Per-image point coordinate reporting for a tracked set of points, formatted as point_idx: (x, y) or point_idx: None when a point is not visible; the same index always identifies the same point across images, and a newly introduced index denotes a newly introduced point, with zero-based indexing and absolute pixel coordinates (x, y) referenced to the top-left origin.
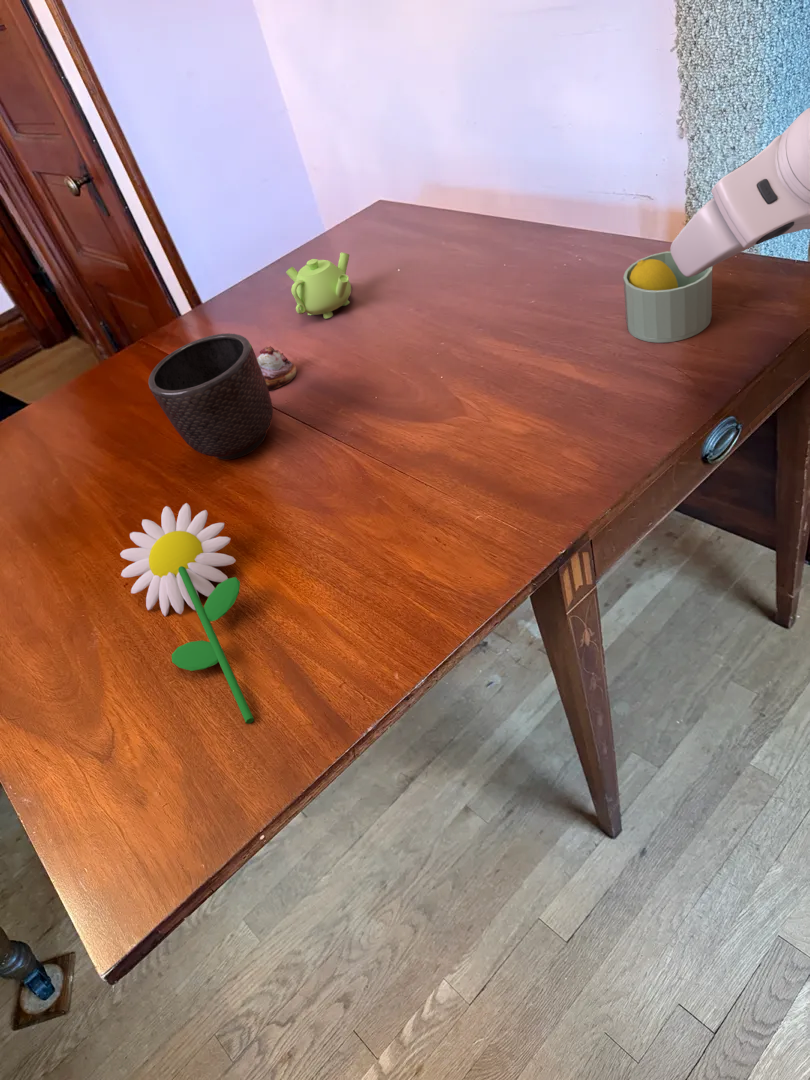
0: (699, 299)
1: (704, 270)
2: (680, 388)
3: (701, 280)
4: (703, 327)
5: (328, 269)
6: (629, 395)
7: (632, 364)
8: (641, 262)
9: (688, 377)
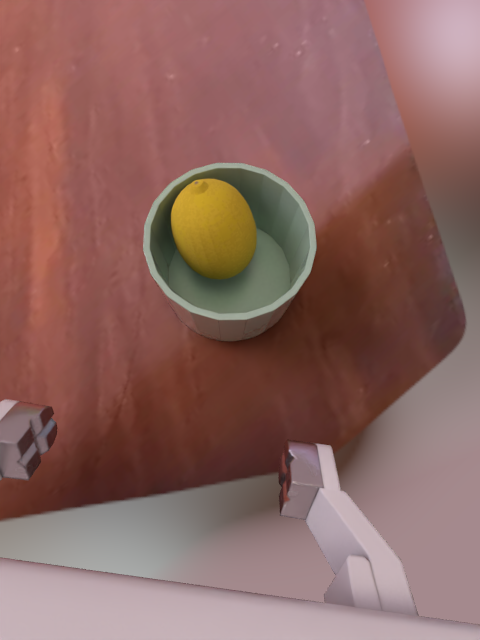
0: (225, 329)
1: (51, 444)
2: (85, 425)
3: (231, 319)
4: (235, 340)
5: None
6: (32, 373)
7: (104, 316)
8: (194, 188)
9: (116, 414)
